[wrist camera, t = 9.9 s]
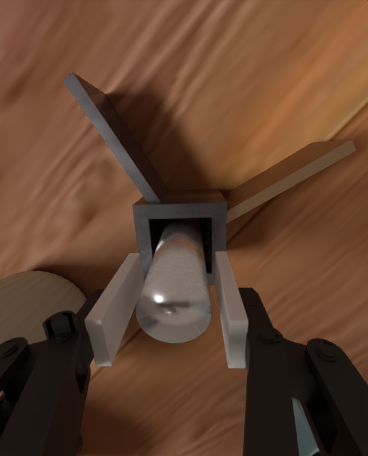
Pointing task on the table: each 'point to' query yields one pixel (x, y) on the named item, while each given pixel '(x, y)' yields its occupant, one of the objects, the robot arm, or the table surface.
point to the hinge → (193, 199)
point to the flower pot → (304, 432)
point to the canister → (34, 303)
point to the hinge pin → (176, 285)
